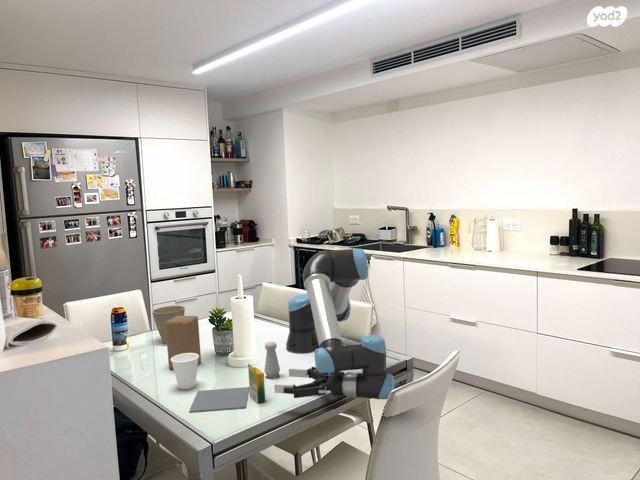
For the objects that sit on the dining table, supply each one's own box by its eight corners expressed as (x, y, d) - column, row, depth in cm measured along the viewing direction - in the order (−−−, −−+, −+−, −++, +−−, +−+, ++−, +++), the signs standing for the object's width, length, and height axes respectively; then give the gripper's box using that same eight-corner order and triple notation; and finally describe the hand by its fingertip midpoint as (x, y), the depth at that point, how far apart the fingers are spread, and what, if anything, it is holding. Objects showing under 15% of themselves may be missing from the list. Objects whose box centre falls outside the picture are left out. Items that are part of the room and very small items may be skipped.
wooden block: (191, 371, 191) (187, 321, 189) (168, 370, 193) (164, 321, 191) (202, 362, 201) (198, 315, 199) (180, 361, 203) (176, 315, 201)
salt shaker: (282, 374, 183) (280, 340, 182) (276, 379, 178) (274, 345, 176) (268, 372, 185) (266, 339, 184) (262, 378, 180) (260, 344, 178)
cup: (186, 394, 168) (183, 363, 167) (167, 389, 174) (164, 359, 173) (206, 383, 177) (204, 354, 176) (187, 379, 182) (185, 351, 181)
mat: (249, 388, 171) (249, 387, 171) (245, 408, 155) (245, 406, 155) (198, 392, 170) (198, 390, 170) (189, 412, 154) (189, 411, 154)
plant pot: (174, 335, 242) (171, 304, 240) (193, 339, 233) (191, 307, 232) (148, 343, 230) (145, 311, 228) (167, 348, 221) (165, 314, 220)
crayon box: (265, 401, 160) (263, 367, 158) (257, 403, 158) (255, 369, 157) (257, 393, 166) (255, 361, 165) (249, 396, 164) (247, 363, 163)
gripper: (336, 413, 141) (268, 407, 147) (353, 380, 165) (294, 376, 171) (335, 388, 141) (267, 383, 147) (352, 359, 165) (293, 356, 170)
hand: (282, 379), depth 159 cm, fingers open, 13 cm apart
